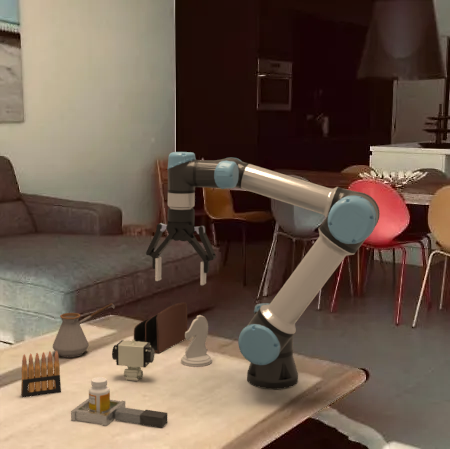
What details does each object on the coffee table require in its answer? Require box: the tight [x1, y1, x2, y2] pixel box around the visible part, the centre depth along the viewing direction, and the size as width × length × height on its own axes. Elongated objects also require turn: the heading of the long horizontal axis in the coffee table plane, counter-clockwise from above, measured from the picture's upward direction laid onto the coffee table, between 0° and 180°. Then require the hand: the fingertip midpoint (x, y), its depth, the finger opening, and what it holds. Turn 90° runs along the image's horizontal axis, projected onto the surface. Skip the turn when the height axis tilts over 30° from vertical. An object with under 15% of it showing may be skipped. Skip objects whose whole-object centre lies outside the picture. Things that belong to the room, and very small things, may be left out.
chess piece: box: [180, 314, 213, 368], centre depth 238 cm, size 10×10×15 cm
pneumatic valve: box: [111, 339, 156, 382], centre depth 222 cm, size 6×12×12 cm, turn 78°
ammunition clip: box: [20, 351, 62, 398], centre depth 209 cm, size 11×2×12 cm, turn 114°
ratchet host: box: [70, 397, 168, 429], centre depth 194 cm, size 24×11×3 cm, turn 72°
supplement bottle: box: [88, 376, 111, 414], centre depth 195 cm, size 5×5×10 cm
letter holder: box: [133, 301, 188, 355], centre depth 256 cm, size 10×20×14 cm, turn 154°
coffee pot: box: [52, 302, 116, 358], centre depth 247 cm, size 21×12×15 cm, turn 124°
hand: (180, 282), depth 213 cm, fingers open, 13 cm apart
